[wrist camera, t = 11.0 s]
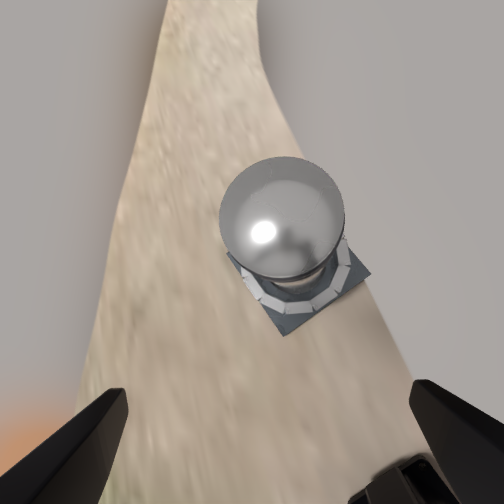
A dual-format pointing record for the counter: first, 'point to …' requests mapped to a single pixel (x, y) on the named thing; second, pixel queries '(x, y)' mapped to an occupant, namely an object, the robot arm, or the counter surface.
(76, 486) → the robot arm
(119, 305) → the counter surface
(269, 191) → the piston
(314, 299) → the sleeve
